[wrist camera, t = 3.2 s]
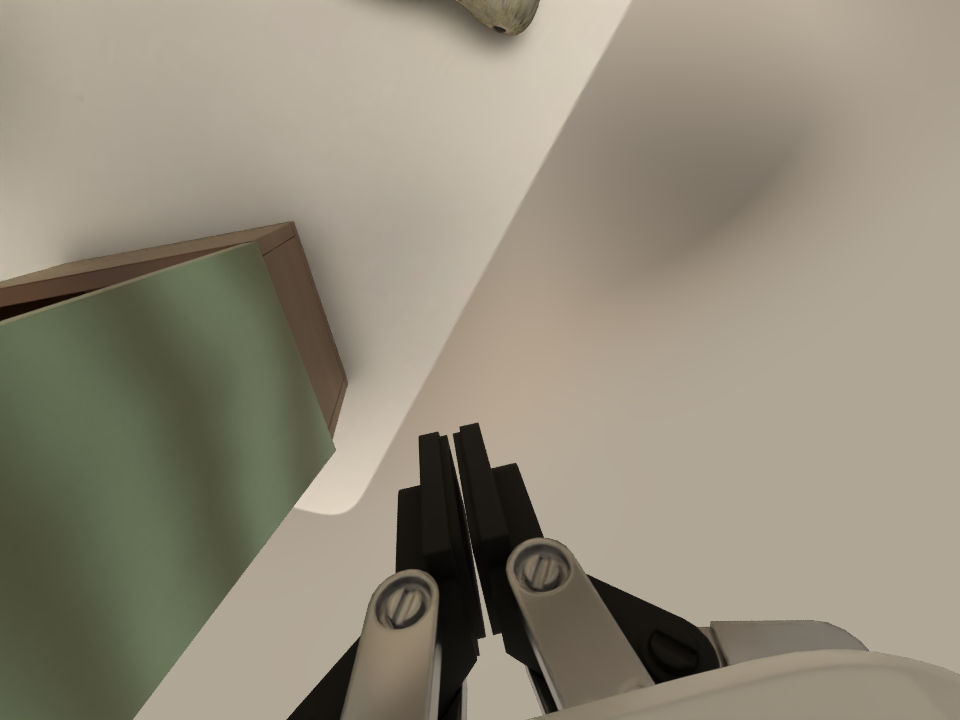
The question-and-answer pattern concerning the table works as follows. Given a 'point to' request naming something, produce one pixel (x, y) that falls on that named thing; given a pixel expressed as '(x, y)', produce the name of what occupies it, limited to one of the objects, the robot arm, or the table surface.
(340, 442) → the table surface
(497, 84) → the table surface
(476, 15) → the decorative bird
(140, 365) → the green rectangular panel
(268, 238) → the cold frame
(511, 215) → the table surface
